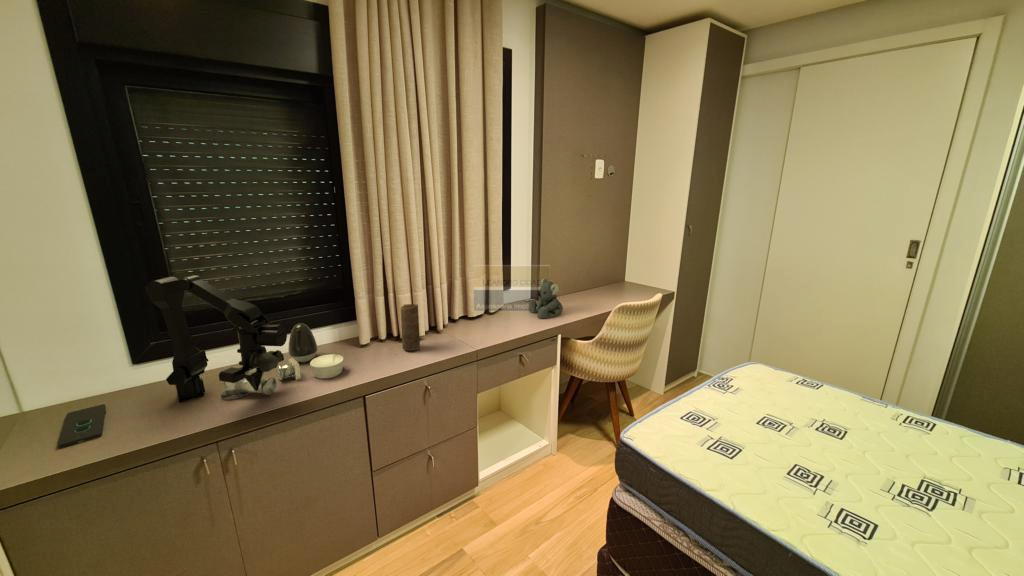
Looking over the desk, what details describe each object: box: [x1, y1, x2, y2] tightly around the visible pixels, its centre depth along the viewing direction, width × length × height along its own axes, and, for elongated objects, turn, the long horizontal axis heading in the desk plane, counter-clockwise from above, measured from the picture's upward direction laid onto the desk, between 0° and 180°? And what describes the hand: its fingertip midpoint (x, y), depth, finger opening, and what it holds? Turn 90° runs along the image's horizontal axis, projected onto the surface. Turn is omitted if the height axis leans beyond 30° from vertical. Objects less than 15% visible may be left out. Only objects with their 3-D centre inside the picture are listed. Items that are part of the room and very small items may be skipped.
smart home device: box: [57, 403, 107, 450], centre depth 111 cm, size 8×2×20 cm
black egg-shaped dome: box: [287, 323, 318, 363], centre depth 153 cm, size 10×10×15 cm
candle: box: [400, 303, 421, 351], centre depth 165 cm, size 8×7×20 cm
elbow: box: [223, 377, 278, 396], centre depth 129 cm, size 15×5×6 cm, turn 89°
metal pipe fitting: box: [220, 357, 302, 401], centre depth 134 cm, size 23×8×6 cm, turn 134°
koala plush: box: [528, 277, 564, 320], centre depth 216 cm, size 17×18×20 cm
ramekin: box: [309, 353, 345, 380], centre depth 144 cm, size 11×11×5 cm
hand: (256, 390), depth 126 cm, fingers closed
